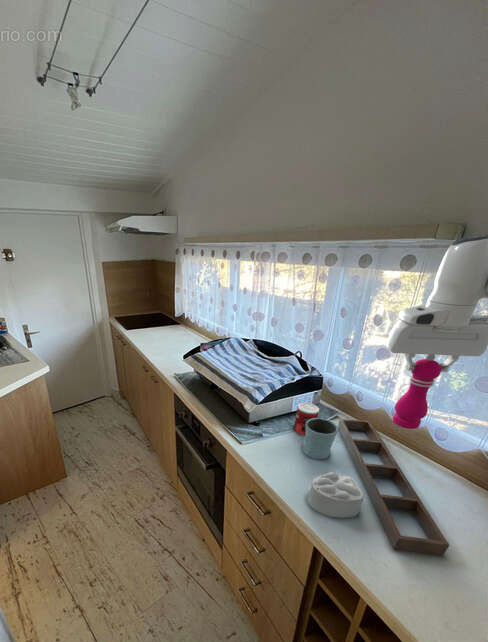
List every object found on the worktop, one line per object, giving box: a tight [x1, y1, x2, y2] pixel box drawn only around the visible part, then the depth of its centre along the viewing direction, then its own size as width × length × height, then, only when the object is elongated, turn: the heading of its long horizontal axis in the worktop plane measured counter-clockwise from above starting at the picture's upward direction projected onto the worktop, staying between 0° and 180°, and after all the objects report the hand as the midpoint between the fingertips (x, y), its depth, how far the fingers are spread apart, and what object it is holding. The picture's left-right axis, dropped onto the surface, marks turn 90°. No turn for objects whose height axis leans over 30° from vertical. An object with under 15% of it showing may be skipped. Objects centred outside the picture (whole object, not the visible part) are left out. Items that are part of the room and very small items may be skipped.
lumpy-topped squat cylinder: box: [307, 471, 365, 518], centre depth 87 cm, size 10×13×9 cm
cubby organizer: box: [337, 418, 450, 557], centre depth 97 cm, size 11×55×5 cm, turn 170°
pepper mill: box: [391, 354, 442, 430], centre depth 79 cm, size 7×7×20 cm
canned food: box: [293, 402, 320, 436], centre depth 119 cm, size 8×8×11 cm
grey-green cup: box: [302, 417, 339, 460], centre depth 107 cm, size 10×10×12 cm
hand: (425, 370), depth 77 cm, fingers closed on pepper mill, 6 cm apart
